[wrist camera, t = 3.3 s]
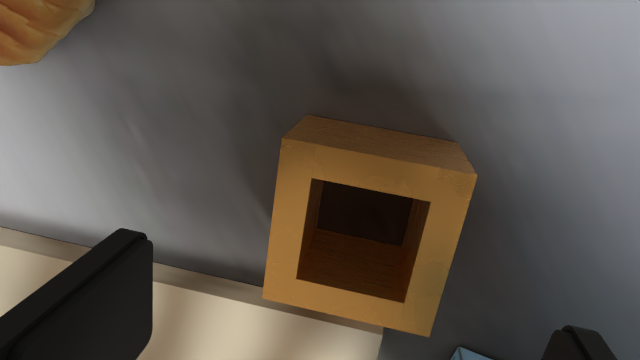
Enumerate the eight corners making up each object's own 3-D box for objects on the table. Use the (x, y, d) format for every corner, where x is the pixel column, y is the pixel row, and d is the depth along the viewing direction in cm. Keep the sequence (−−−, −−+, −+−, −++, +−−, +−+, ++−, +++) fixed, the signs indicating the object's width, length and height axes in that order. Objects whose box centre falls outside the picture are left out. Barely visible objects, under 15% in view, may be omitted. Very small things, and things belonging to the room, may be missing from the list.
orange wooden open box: (457, 142, 18) (477, 175, 13) (421, 273, 20) (429, 337, 16) (307, 114, 18) (281, 137, 14) (288, 244, 21) (261, 298, 16)
